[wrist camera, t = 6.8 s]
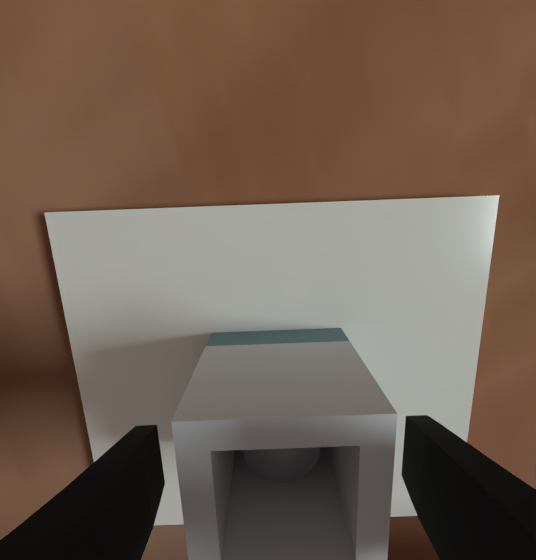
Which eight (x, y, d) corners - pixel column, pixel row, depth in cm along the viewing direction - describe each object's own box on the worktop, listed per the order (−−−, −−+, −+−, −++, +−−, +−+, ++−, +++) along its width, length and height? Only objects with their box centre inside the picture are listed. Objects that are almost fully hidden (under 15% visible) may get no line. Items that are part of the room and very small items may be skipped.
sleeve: (341, 327, 11) (397, 414, 6) (338, 438, 12) (385, 583, 8) (211, 332, 11) (171, 421, 6) (221, 442, 12) (192, 590, 8)
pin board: (479, 196, 11) (614, 185, 7) (444, 493, 14) (522, 617, 10) (63, 212, 11) (-65, 212, 7) (117, 505, 14) (52, 634, 10)
